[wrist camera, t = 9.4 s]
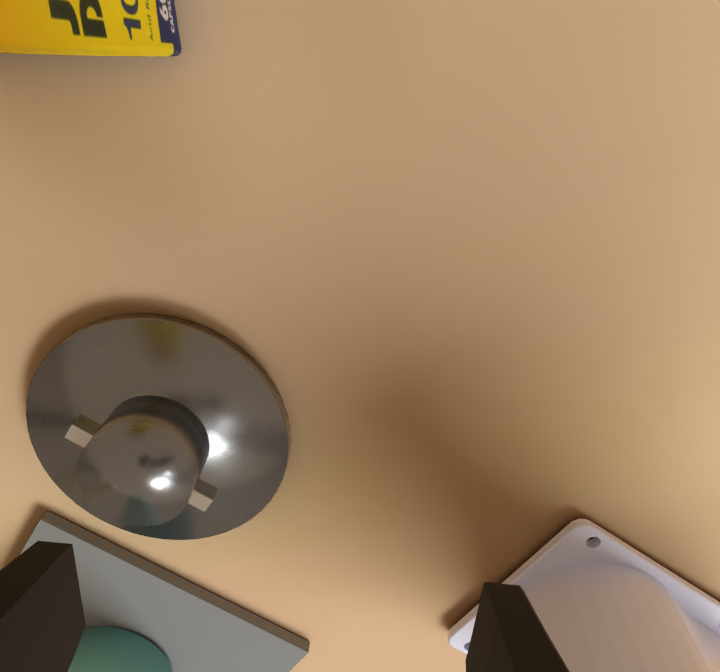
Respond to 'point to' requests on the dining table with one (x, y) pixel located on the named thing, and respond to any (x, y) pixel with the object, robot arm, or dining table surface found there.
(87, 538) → the mat
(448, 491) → the dining table surface
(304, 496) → the dining table surface
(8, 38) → the supplement box
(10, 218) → the dining table surface
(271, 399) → the metal flanged disc
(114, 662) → the cap
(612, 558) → the robot arm
